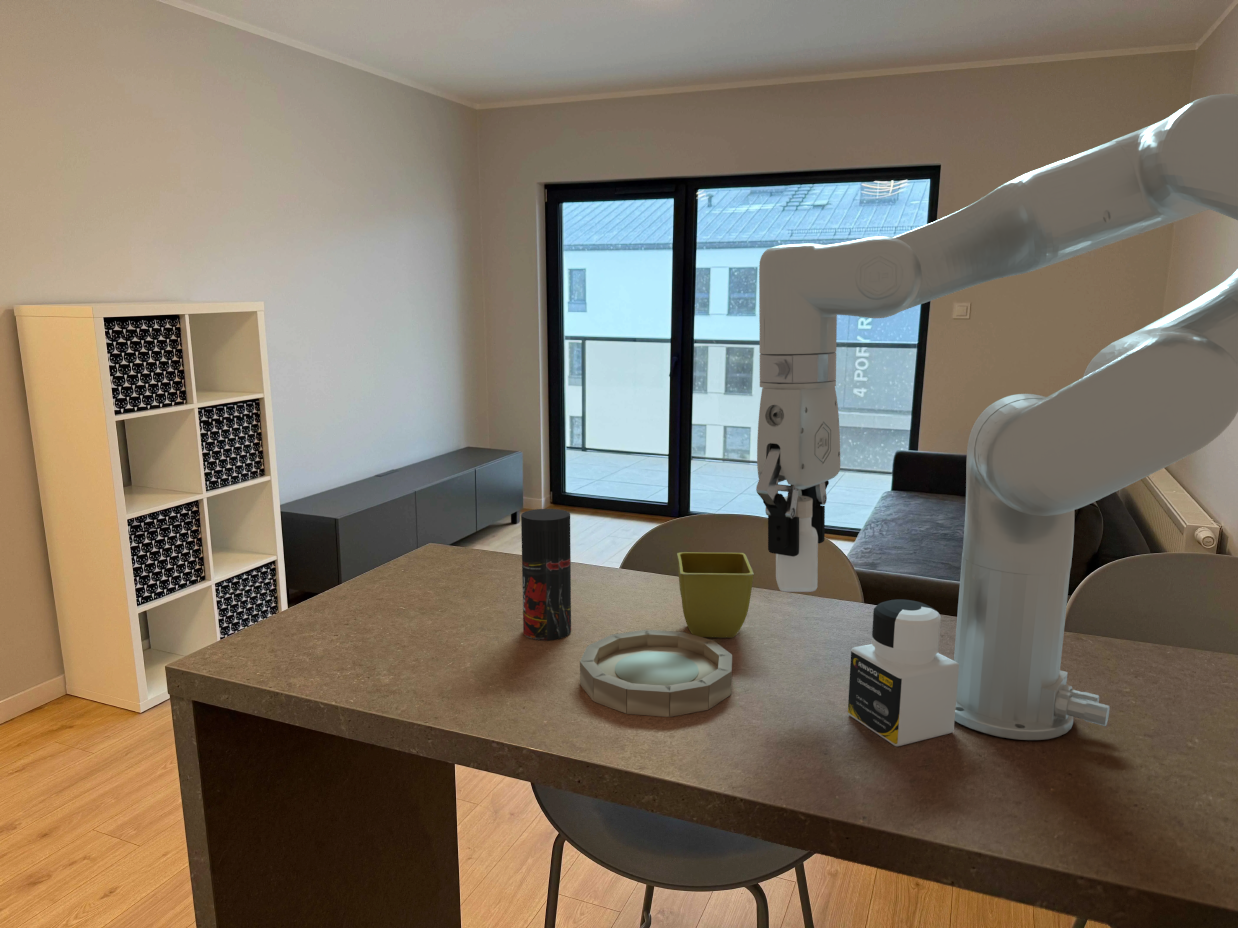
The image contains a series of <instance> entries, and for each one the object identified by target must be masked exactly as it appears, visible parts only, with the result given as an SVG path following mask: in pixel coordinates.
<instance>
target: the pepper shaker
mask: <svg viewBox="0 0 1238 928" xmlns="http://www.w3.org/2000/svg"><path fill="white" fill-rule="evenodd" d="M787 496H788V495H785V496H784V498H785V500H786V502H787ZM812 504H813V499H812V498H810V497H807V496H798V498H797V505H796V513H795V517H799V554H798V555H797V556H794V557H793V556H787V555H780V554H775V579H776V583H777V587H778V589H779V591H781V592H785V593H786V592H789V593H791V592H793V593H795V592H796V593H797V592H800V593H801V592H804V593H809V592H811V593H812V592H815V591H816V590H817V588H818V586H819V585H818V583H819V582H818V580H819V579H818V567H819V566H818V565H819V563H818V562H819V561H818V560H819V559H818V557H819V555H818V554H819V545H818V544H819V543H818V535H817V531H816V529H815V528H814V527H812V526H811V518H812Z"/></svg>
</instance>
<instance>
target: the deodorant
mask: <svg viewBox="0 0 1238 928" xmlns="http://www.w3.org/2000/svg"><path fill="white" fill-rule="evenodd" d="M520 517H521V518H520V521H521V523H520V525H521V527H520V529H521V569H522V570H521V574H522V577H521V578H522V580H521V582H522V626H523V627H522V631H523V632H522V633H523V635H524V636H525V637H526V638H528V639H531V640H536V641H544V642H545V641H547V642H548V641H558V640H561V639H563V638H566V637H568V636H569V635H571V633H572V577H571V574H572V571H571V570H572V568H571V567H572V566H571V565H572V564H571V563H572V562H571V561H572V559H571V556H572V555H571V552H572V551H571V513H570V512H569V511H567V510H564V509H557V508H539V509H538V508H536V509H531V510H527V511H524V512H522V513H521V514H520Z"/></svg>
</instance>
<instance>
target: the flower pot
mask: <svg viewBox="0 0 1238 928" xmlns="http://www.w3.org/2000/svg"><path fill="white" fill-rule="evenodd" d="M676 555H677V559H676V560H677V570H678V582H679V583H678V585H679V593H680V598H681V604H682V606H681V607H682V613H683V617H684V620H685V623H686V625H687V628H688V630H689V632H690V634H692V635H696V636H699V637H703V638H726V639H727V638H728V639H729V638H730V639H732V638H735V636H736V635H738V633H739V632H740V630H741V629H742V627H743V625H744V623H745V621H746V618H747V615H748V613H749V607H750V601H751V595H752V589H753V583H754V574H755V573H754V570H753V568H752V567H751V565H750V564H751V563H750V561H749V559H748V557H747V555H746V554H745V552H696V551H695V552H692V551H691V552H690V551H689V552H687V551H684V552H682V551H681V552H677V553H676Z"/></svg>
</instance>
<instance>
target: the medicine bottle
mask: <svg viewBox="0 0 1238 928" xmlns="http://www.w3.org/2000/svg"><path fill="white" fill-rule="evenodd" d="M872 615H873V617H872V633H871V634H872V635H871V643H870V644H865V645H859V646H853V647H852V648H851V650H850V665H849V666H850V667H849V685H848V699H847V700H848V701H847V702H848V704H847V714H848V715H849V717H851V718H853V719H854V720H856V721H857V722H859V723H860V724H862V725H864V726H865V727H866V728H867V729H869V730H871V731H872V732H874V733H875V734H876V735H878V736H880V737H881V738H882V739H883V740H884V741H887V742H888V743H890V744H891V745H893V746H894V747H901V746H905V745H909V744H914V743H916V742H921V741H925V740H929V739H932V738H937V737H940V736H945V735H948V734H949V735H950V734H952V733H953V732H954V731H955V723H956V721H955V709H956V697H957V684H958V671H959V664H958V663H957V662H956V661H954V659H951V658H949V657H947V656H946V655H944V654H941V653H939V646H940V635H941V633H940V632H941V622H942V621H941V620H942V616H941V614H940V613H939V611H938V610H936V609H935V608H934V607H932V606H930V605H928V604H926V603H924V602H921V601H916V600H911V599H900V598H899V599H896V598H895V599H891V600H890V599H889V600H886V601H882V602H879V603H878V604H877V605H876V606H875V607H873V613H872Z"/></svg>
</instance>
